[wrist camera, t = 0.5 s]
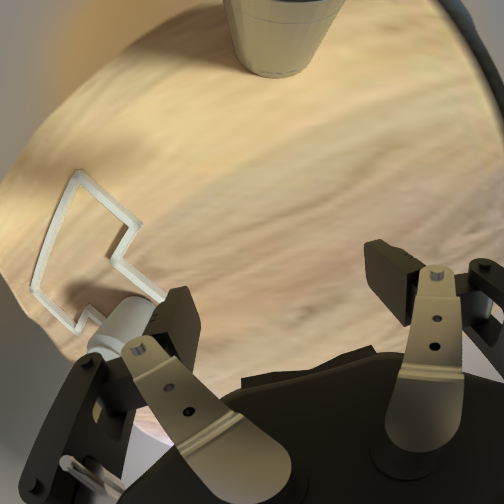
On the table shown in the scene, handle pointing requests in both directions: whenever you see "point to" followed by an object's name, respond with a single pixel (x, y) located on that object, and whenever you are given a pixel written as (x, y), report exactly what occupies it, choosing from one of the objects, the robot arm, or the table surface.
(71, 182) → the t outline
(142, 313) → the can
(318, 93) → the table surface
